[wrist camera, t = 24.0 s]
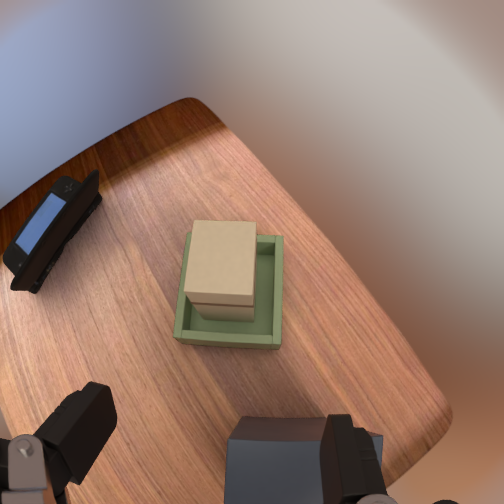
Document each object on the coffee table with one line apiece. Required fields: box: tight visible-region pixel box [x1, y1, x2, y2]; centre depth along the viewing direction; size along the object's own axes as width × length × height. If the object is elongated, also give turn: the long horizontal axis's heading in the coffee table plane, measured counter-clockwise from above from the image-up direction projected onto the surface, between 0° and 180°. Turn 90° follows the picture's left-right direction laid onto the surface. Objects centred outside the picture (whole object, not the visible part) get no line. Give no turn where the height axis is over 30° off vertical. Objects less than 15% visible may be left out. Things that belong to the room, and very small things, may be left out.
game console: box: [3, 170, 102, 294], centre depth 32 cm, size 16×14×9 cm
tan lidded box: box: [184, 220, 257, 323], centre depth 28 cm, size 5×6×9 cm
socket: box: [173, 232, 283, 350], centre depth 31 cm, size 10×11×4 cm
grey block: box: [224, 416, 383, 504], centre depth 18 cm, size 8×8×15 cm
